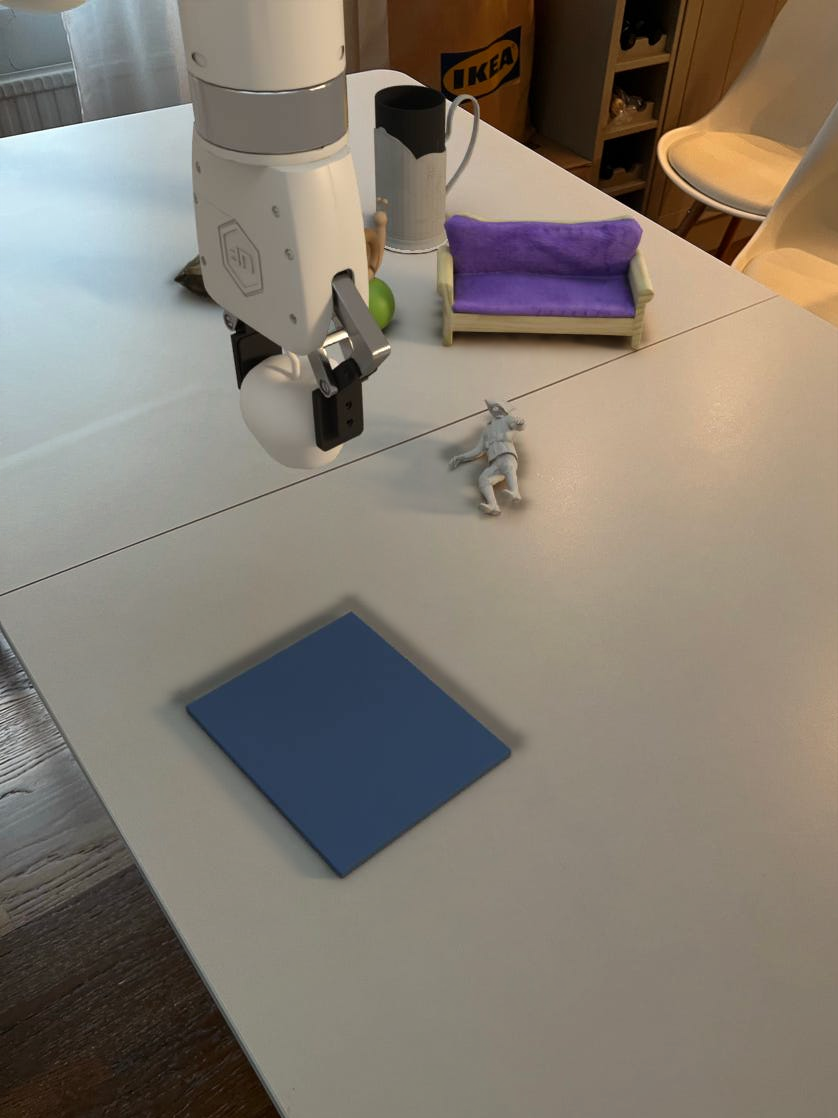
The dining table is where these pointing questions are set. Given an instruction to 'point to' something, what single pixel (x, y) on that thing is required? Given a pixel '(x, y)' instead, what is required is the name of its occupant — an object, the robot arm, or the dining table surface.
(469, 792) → the dining table surface
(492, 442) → the soldier figure
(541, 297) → the toy sofa
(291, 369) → the plain white apple
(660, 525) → the dining table surface
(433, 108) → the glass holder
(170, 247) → the dining table surface
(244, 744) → the blue square board
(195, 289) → the dark brown rough lump
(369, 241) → the snail figurine
